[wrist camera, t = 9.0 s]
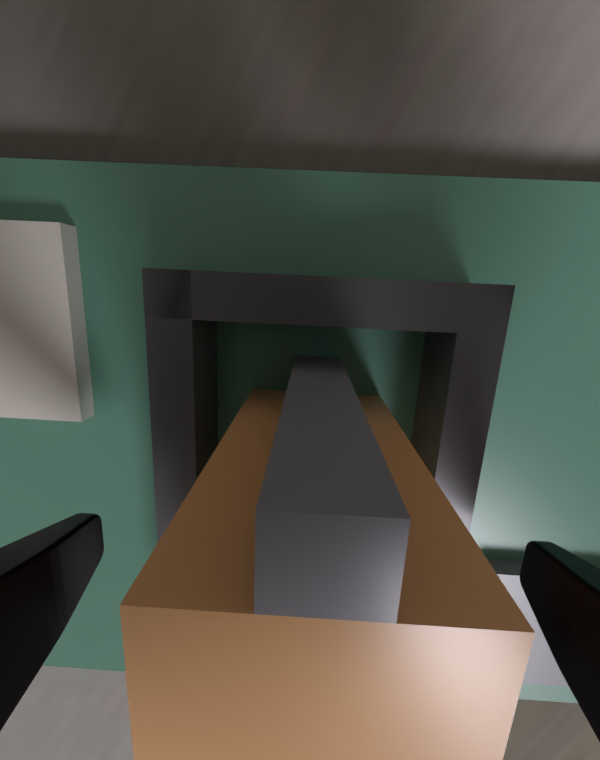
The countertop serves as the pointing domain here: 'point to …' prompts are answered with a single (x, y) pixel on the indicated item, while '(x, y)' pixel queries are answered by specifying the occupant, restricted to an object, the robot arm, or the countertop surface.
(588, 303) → the board
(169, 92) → the countertop surface
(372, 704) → the keyed plug
